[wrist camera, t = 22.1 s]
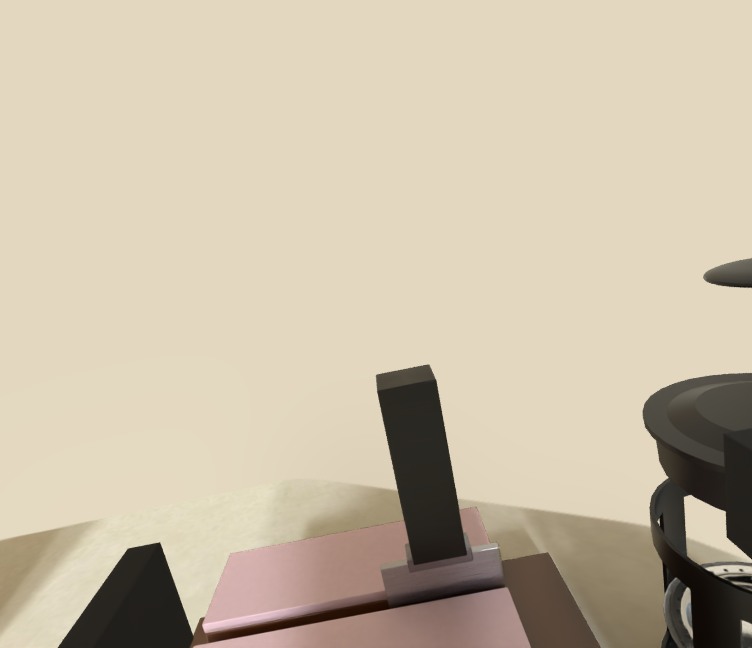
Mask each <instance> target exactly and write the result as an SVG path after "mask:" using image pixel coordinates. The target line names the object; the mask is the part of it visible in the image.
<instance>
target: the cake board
mask: <svg viewBox="0 0 752 648" xmlns="http://www.w3.org/2000/svg"><path fill="white" fill-rule="evenodd" d="M501 562H502V568H503V574H504V580H505V587H507V588H508V590H509V592H510V595H511V597H512V600H513V603H514V605H515V608H516V610H517V613H518V615H519V618H520V620H521V623H522V626H523V628H524V631H525V633H526V636H527V638H528V641H529V644H530V646H531V648H601V647H600V646H599V644H598V642H597V640H596V638H595V636H594V635H593V633H592V631H591V629H590V627H589V626H588V624H587V622H586V620H585V618H584V617H583V615H582V613H581V611H580V609H579V607H578V606H577V604H576V602H575V600H574V598H573V597H572V595H571V593H570V591H569V589H568V588H567V586H566V584H565V582H564V580H563V578H562V577H561V575H560V573H559V571H558V569H557V568H556V566H555V564H554V562H553V560H552V559H551V557H550V555H549V553H548V552H547V553H542V554H537V555H531V556H526V557H521V558H516V559H510V560H505V561H501ZM204 619H205V617H203V618H200V620H199V623H198V625H197V628H196V630H195V633H194V635H193V637H194V639H193V641H192V644H191V646H190V648H193V647H194V646H197V645H202V644H207V643H208V640H207V637H206V633H205V632H204V629H203V626H202V624H203V621H204Z"/></svg>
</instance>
